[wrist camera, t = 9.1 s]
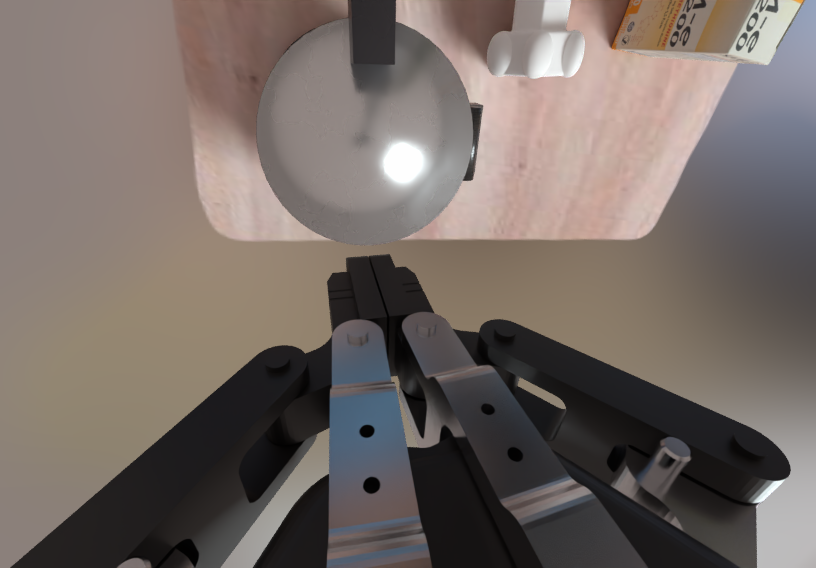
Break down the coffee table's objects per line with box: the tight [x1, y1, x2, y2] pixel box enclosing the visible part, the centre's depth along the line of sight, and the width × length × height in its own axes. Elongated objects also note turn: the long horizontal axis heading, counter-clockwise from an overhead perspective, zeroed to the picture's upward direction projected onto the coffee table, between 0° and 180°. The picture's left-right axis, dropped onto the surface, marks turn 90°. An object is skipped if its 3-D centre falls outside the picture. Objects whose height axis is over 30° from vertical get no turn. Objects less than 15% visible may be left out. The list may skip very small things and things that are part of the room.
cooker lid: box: [256, 0, 482, 245], centre depth 24 cm, size 20×15×3 cm
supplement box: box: [612, 0, 805, 65], centre depth 31 cm, size 8×5×13 cm, turn 170°
